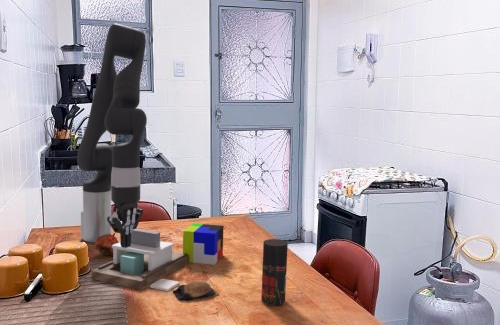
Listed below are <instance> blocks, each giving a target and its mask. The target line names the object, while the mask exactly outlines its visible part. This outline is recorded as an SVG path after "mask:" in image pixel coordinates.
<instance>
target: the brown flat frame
mask: <svg viewBox="0 0 500 325" xmlns="http://www.w3.org/2000/svg"><path fill="white" fill-rule="evenodd" d="M186 264H190V262H189V255H187V253H185V254H183V252H178V251H173V250H172V260H171V261H169V262H168V263H166V264H164V265H162V266H160V267H158V268H156V269H154V270H152V271H148V255H147V254H144V273H143V274H141V275H139V276H138V275H133V274H128V273H123V272H120V263H118V264H113V260H111V261H108V262H107V263H104V264H102V265H99V266H98V268H95V269H94V270H91V280H96V281H99V282H100V281H101V282H104V283H109V284H110V283H111V284H114V285H118V286H119V285H120V286H125V287H126V288H127V287H128V288H133V289H138V290H142V289H144V288H146V287H147V286H149V285H151V284H153V283H155V282H157V281H158V280H160V279H163V278H164V277H165V276H167V275H169V274H171V273H173V272H174V271H176V270H178V269H179V268H181V267H184V266H185V265H186Z"/></svg>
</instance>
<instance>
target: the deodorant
mask: <svg viewBox="0 0 500 325" xmlns="http://www.w3.org/2000/svg"><path fill="white" fill-rule="evenodd" d="M288 243H289V242H287V241H286V240H283V239H277V238H276V239H275V238H270V239H265V240H264V241H263V243H262V244H263V247H262V275H261V295H260V296H261V298H260V301H261V303H262V304H263V305H266V306H268V307H279V306H280V307H281V306H282V305H284V304H285V303H286V291H287V290H286V287H287V269H288V268H287V266H288V246H289V244H288Z"/></svg>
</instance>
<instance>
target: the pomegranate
mask: <svg viewBox="0 0 500 325" xmlns="http://www.w3.org/2000/svg"><path fill="white" fill-rule="evenodd" d="M115 235H116V233H115V232H114V233H113V234H112V233H111V234H105V235H102V236H100V237H98V238H97V240H96V242H95V249H96V250H98V252H99V253H100V255H99V256H98V258H97V260H100V259H101V257H102V256H108V257H109V256H110V257H113V248H112V245H114V244H117V243H119V240H118V238H117V237H116V236H115Z"/></svg>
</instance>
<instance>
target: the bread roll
mask: <svg viewBox="0 0 500 325" xmlns="http://www.w3.org/2000/svg"><path fill="white" fill-rule="evenodd" d="M172 294H173V295H174V296H175V297H176V299H177V300H178V301H181V302H185V303H186V302H193V301H199V300H203V299H204V300H205V299H210V298H213V297H216V296H220V294H219V292H217V291H216V290H215V289H214V288H213V287H212V286H211V285H210V284H209V283H207V282H206V281H204V280H197V281H191V282H188V283H187V284H186V283H185V284H179V286H178V287H177V288H176V289H175V290H172Z"/></svg>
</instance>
